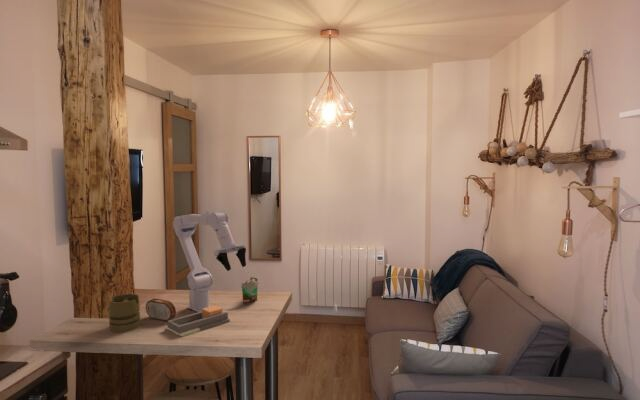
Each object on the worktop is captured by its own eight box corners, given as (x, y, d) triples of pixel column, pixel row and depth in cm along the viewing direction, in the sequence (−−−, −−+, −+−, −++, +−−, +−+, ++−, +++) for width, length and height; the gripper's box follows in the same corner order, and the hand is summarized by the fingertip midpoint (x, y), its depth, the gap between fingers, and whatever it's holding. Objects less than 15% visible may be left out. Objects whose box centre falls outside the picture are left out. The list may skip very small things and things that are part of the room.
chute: (166, 328, 170) (165, 320, 170) (213, 314, 186) (213, 306, 186) (181, 336, 162) (180, 327, 161) (229, 321, 178) (229, 313, 177)
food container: (254, 305, 198) (253, 284, 197) (241, 304, 199) (241, 283, 199) (262, 297, 210) (262, 277, 209) (251, 296, 211) (250, 276, 211)
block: (202, 318, 178) (201, 308, 178) (214, 314, 183) (214, 305, 182) (209, 321, 174) (209, 312, 174) (222, 317, 178) (222, 308, 178)
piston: (141, 293, 178) (136, 301, 167) (142, 320, 179) (137, 331, 168) (112, 295, 175) (104, 303, 164) (113, 323, 176) (106, 333, 165)
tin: (176, 320, 179) (176, 301, 178) (171, 323, 176) (170, 303, 175) (150, 315, 185) (149, 296, 185) (144, 317, 182) (143, 298, 182)
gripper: (214, 237, 171) (226, 268, 167) (244, 231, 181) (255, 260, 178) (207, 244, 175) (218, 274, 172) (236, 238, 186) (247, 267, 182)
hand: (236, 268), depth 175 cm, fingers open, 7 cm apart
